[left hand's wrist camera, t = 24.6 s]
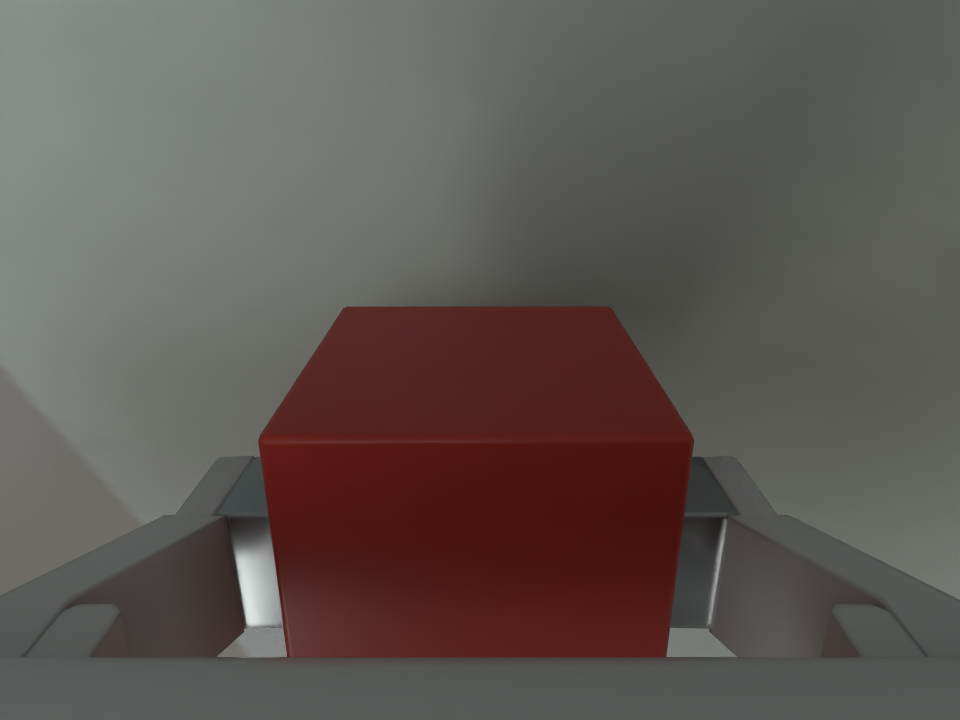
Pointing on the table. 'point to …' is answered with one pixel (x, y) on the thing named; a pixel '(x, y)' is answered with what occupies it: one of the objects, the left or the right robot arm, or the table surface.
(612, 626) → the block
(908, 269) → the table surface
